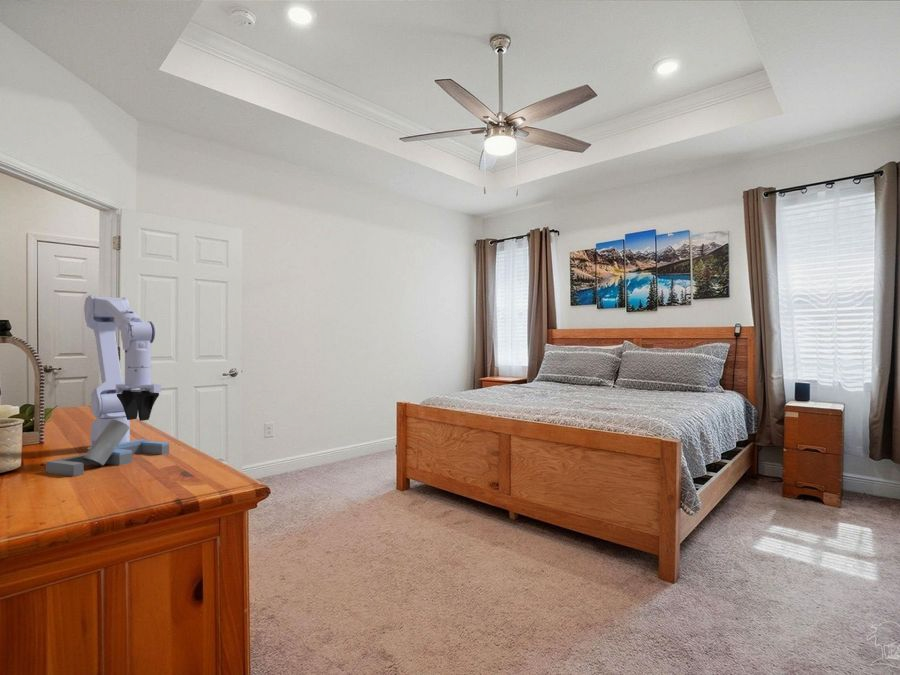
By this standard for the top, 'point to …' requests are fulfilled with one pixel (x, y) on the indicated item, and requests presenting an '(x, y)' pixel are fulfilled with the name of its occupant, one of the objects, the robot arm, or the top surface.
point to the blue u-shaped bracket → (133, 443)
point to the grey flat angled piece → (76, 463)
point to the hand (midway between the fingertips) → (138, 419)
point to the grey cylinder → (106, 443)
